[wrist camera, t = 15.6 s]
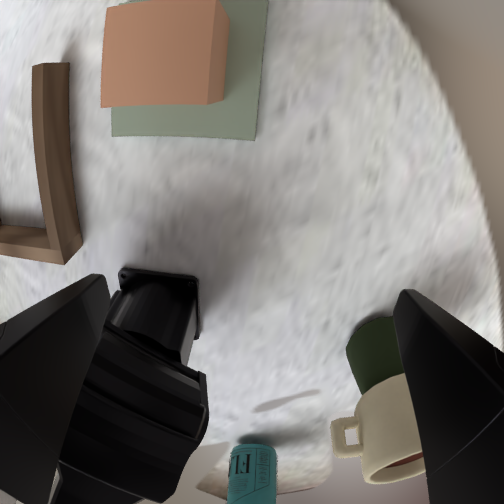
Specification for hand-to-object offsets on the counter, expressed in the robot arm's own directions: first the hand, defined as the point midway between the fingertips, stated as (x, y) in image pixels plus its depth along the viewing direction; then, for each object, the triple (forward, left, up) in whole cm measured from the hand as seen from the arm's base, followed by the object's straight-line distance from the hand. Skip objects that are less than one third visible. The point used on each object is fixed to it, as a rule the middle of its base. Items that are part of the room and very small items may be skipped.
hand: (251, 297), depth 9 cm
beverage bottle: (-3, +36, -12) cm, 38 cm away
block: (+5, -7, -11) cm, 14 cm away
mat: (+5, -7, -12) cm, 15 cm away
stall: (+19, -1, -12) cm, 22 cm away
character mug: (-12, +13, -12) cm, 21 cm away
